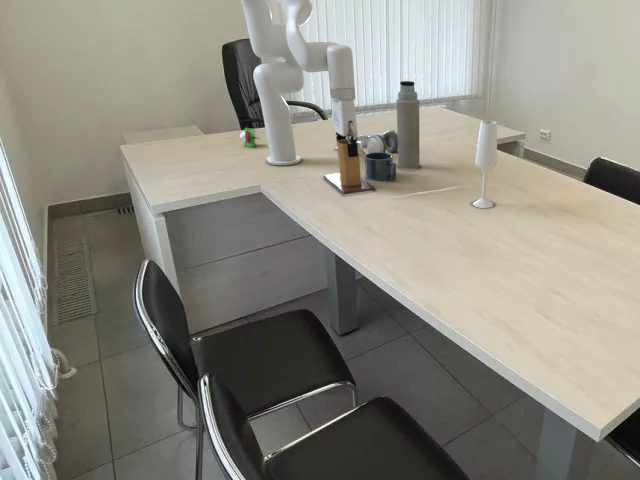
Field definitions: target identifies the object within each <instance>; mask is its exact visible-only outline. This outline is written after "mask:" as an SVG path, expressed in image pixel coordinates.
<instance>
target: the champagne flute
mask: <svg viewBox="0 0 640 480" xmlns="http://www.w3.org/2000/svg"><path fill="white" fill-rule="evenodd" d="M478 132H479V133H478V140H477V147H476V153H475V160H474V163H475V166H476V167H477V168H478V170H479V171H480V172H481V173H482V189H481V198H479V199H478V200H475V201H474V202H473V203H472V205H473V206H474V207H476V208H480V209H489V208H493V207H494V203H493V202H492V201H490V200H488V199H487V198H486V196H487V195H486V194H487V183H488V173H490V172H491V171H492V170H493V169H495V168H496V166H497V164H498V122H497V121H495V120H481V121H480V126H479V131H478Z"/></svg>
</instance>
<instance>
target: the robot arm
mask: <svg viewBox="0 0 640 480" xmlns="http://www.w3.org/2000/svg"><path fill="white" fill-rule="evenodd" d="M276 1H277V3H278V5H279V6H280V8H281V10H282V12H283V13H284V15H285V17H286V23H274V20H273V15H272V14H273V13H272V10H271V7H270V4H269V3H268V2H269V1H267V0H240V3H241V6H242V9H243V13H244V18H245V22H246V28H247V32H248V37H249V41H250V45H251V49H252V52H253V54H254V55H255V56H256V57H258V58H260V59H277V58H281V60H282V61H278V62H277V61H275V62H266V63H261V64H258V65H257V66H256V67H255V68H254V70H253V74H252V76H253V77H252V78H253V82H254V85H255V88H256V91H257V94H258V98H259V101H260V106H261V110H262V112H261V113H262V116H263V117H262V118H263V123H264V128H265V134H266V140H267V146H268V151H269V155H268V156H267V157H266V162H267V164H269V165H273V166H291V165H296V164H299V163H300V162H301V161H302V157H301V155H299V154H297V150H296V143H295V136H294V130H293V123H292V117H291V116H292V115H291V110H290V107H289V105H288V103H287V102H286V100H285V99H284V98H283V96H282V95H285V94H293V93H297V92H298V93H299V92H300V91H302V90H303V88H304V86H305V76H304V72H306V73H320V72H328V73H327V74H328V83H329V93H330V94H329V95H330V99H331V123H332V129H333V131H334V132H335V136H336V137H335V140H336V142H337V141H338V140H342V139H347V141H348V144H347V149H348V157H357V156H358V149H357V136H358V127H357V125H358V124H357V115H356V114H357V113H356V108H355V107H356V106H355V100H356V88H355V72H354V59H353V58H354V57H353V50H352V48H351V47H350V46H348V45H346V44H339V43H337V42H335V41H329V40H327V41H310V42H306V40H305V38H304V36H303V35H302V33H301V31H300V29H299V28H301V27H302V26H303V25H305V24H306V23H307V22H308V21H309V20H310V18H311V17H312V14H313V10H314V8H313V4H312V2H311V0H276Z"/></svg>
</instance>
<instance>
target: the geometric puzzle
mask: <svg viewBox="0 0 640 480" xmlns="http://www.w3.org/2000/svg"><path fill="white" fill-rule="evenodd" d="M255 133H256V130H255V128H249V127H244V128H243V131H241V132H240V134H239V138H240V140H241V141H243V142H244V146H245V147H248V148H249V147H251V148H256V140H257V139H258V140H261V138H260V137H257V135H258V136H259V134H258V133H256V134H255Z"/></svg>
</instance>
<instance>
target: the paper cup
mask: <svg viewBox="0 0 640 480" xmlns="http://www.w3.org/2000/svg"><path fill="white" fill-rule="evenodd" d="M347 144H348V141H347V138H346V139H342V140H338V141H337V140H336V146H337V150H336V151H337V159H338V160H337V161H338V169H339V173H340V181H341V184H342V185H345V186H357V185H359V184H360V183H361V178H362V176H361V166H360V153H359V150H358V156H357V157H348V149H347ZM357 149H358V141H357Z"/></svg>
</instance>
